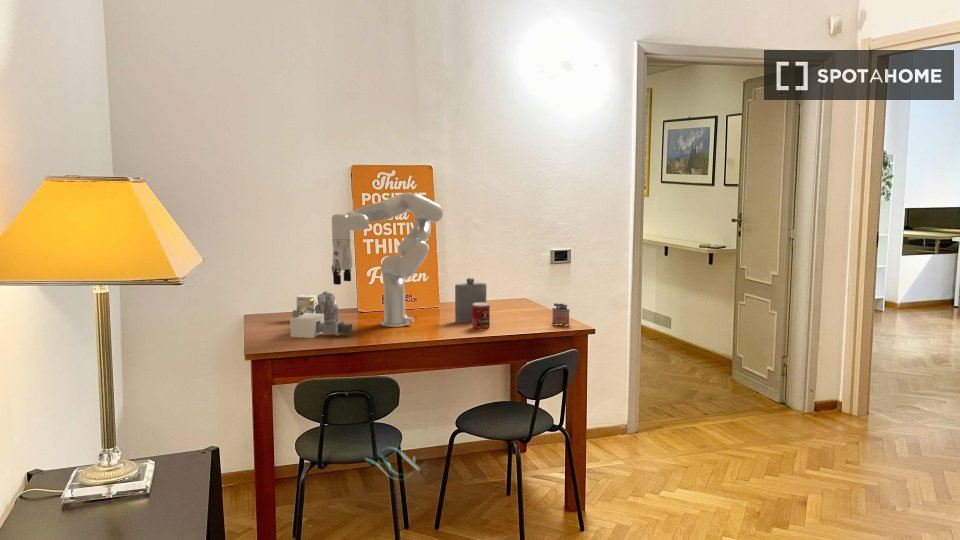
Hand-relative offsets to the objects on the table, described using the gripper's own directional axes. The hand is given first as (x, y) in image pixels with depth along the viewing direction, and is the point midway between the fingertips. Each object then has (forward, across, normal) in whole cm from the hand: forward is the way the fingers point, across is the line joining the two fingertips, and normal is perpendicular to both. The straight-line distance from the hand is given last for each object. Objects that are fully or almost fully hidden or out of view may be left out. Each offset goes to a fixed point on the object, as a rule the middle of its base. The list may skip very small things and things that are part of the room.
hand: (342, 282), depth 321 cm
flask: (+22, +37, -47) cm, 64 cm away
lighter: (+22, +40, -88) cm, 100 cm away
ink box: (+22, +18, +27) cm, 39 cm away
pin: (+21, -8, +3) cm, 22 cm away
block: (+22, -8, +13) cm, 26 cm away
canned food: (+22, +24, -55) cm, 64 cm away
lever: (+10, -8, +13) cm, 19 cm away
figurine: (+22, +10, +13) cm, 27 cm away
